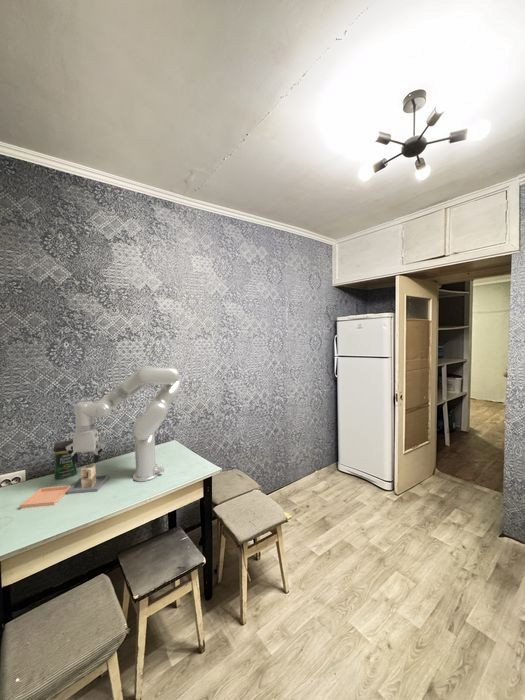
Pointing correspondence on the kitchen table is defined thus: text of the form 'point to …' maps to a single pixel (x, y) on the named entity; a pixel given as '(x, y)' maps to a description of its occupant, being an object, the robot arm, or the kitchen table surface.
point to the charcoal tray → (78, 488)
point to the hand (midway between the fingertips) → (86, 462)
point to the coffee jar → (64, 461)
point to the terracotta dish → (45, 497)
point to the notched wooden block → (88, 476)
